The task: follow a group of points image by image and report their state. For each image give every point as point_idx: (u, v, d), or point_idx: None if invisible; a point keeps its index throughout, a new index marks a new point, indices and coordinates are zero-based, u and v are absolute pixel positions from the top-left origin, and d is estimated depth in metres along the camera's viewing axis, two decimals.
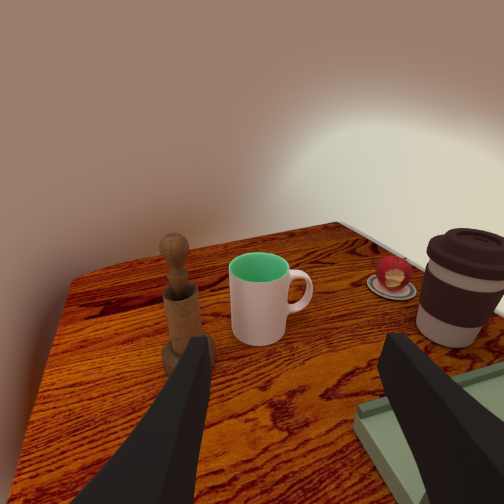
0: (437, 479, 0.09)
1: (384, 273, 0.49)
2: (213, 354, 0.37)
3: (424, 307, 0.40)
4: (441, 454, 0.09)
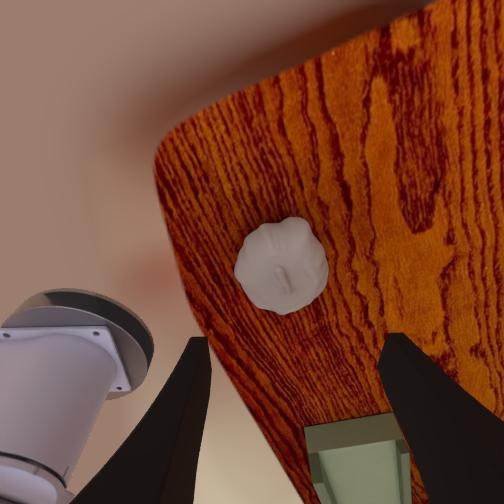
0: (437, 479, 0.09)
1: None
2: None
3: None
4: (441, 454, 0.09)
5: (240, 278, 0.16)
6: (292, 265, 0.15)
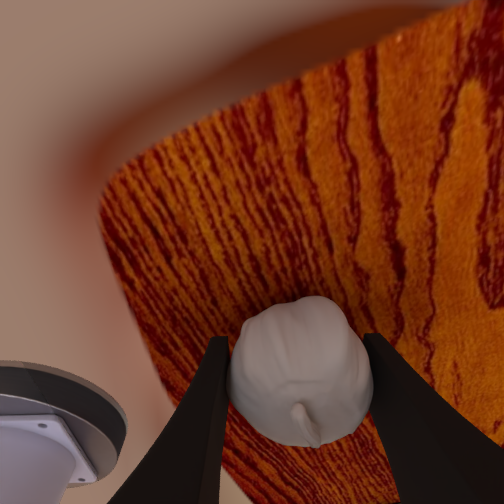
0: (407, 479, 0.09)
1: None
2: None
3: None
4: (410, 454, 0.09)
5: (234, 401, 0.10)
6: (321, 396, 0.09)
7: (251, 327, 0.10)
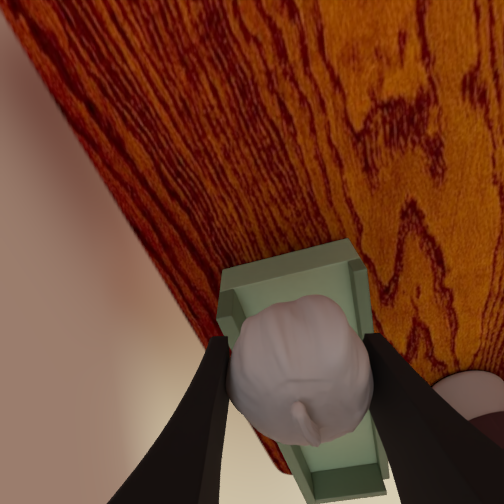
0: (407, 480, 0.09)
1: None
2: None
3: None
4: (410, 454, 0.09)
5: (234, 400, 0.10)
6: (321, 395, 0.09)
7: (251, 326, 0.10)
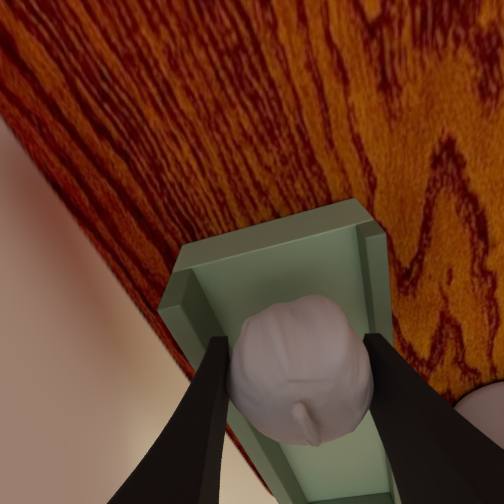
0: (407, 479, 0.09)
1: None
2: None
3: None
4: (410, 454, 0.09)
5: (234, 401, 0.10)
6: (321, 395, 0.09)
7: (251, 326, 0.10)
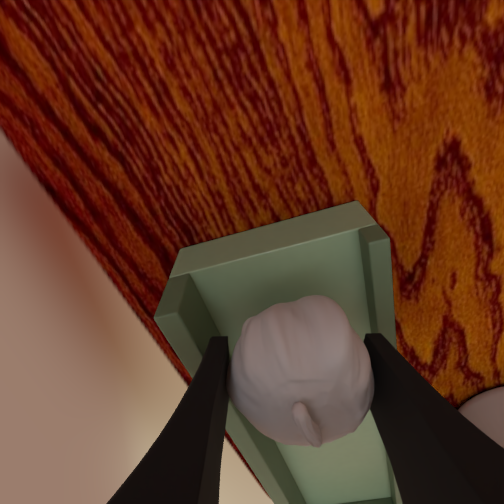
0: (408, 480, 0.09)
1: None
2: None
3: None
4: (411, 454, 0.09)
5: (235, 401, 0.10)
6: (322, 395, 0.09)
7: (252, 326, 0.10)
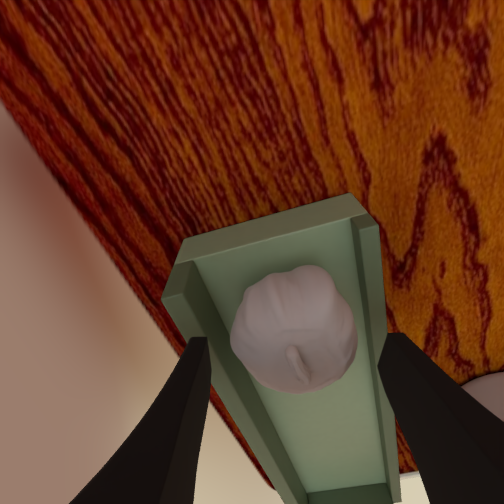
0: (437, 479, 0.09)
1: None
2: None
3: None
4: (441, 454, 0.09)
5: (238, 353, 0.12)
6: (311, 342, 0.10)
7: (252, 290, 0.12)
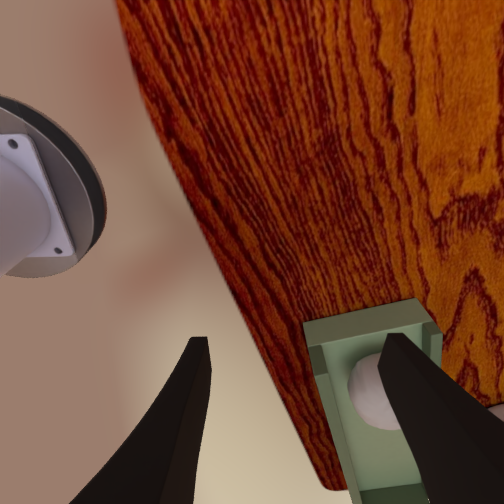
0: (437, 479, 0.09)
1: None
2: None
3: None
4: (441, 454, 0.09)
5: (359, 407, 0.20)
6: None
7: (365, 368, 0.20)
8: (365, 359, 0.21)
